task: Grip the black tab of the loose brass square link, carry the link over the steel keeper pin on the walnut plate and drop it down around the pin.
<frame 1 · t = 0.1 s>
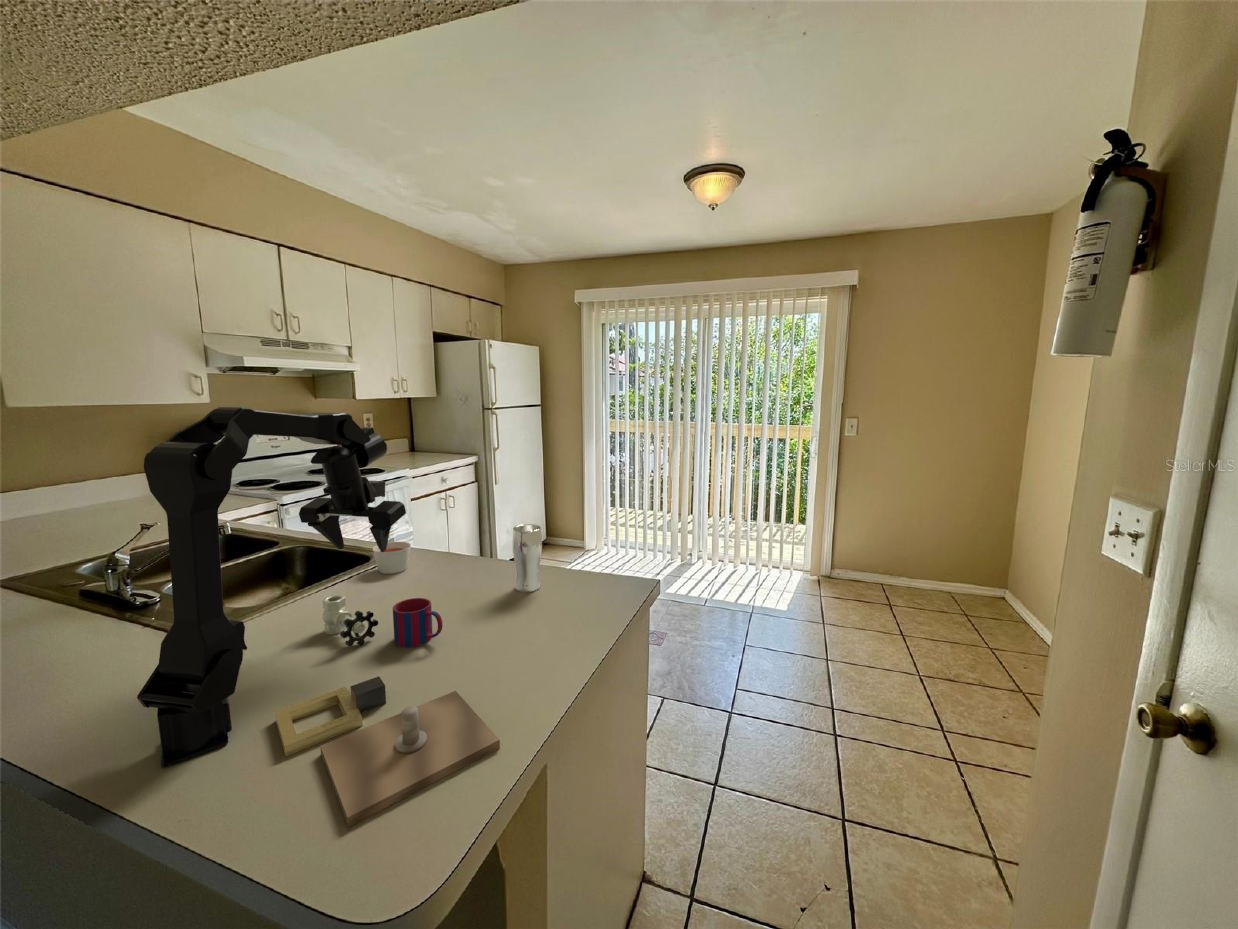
hand: (362, 549, 95), 15 cm above the counter, tool pointing down, fingers open, 9 cm apart
brass link: (318, 723, 68), on the counter
candle: (393, 570, 127), on the counter
valve: (346, 637, 92), on the counter
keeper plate: (411, 751, 63), on the counter
mug: (419, 642, 91), on the counter
beer glass: (527, 588, 116), on the counter
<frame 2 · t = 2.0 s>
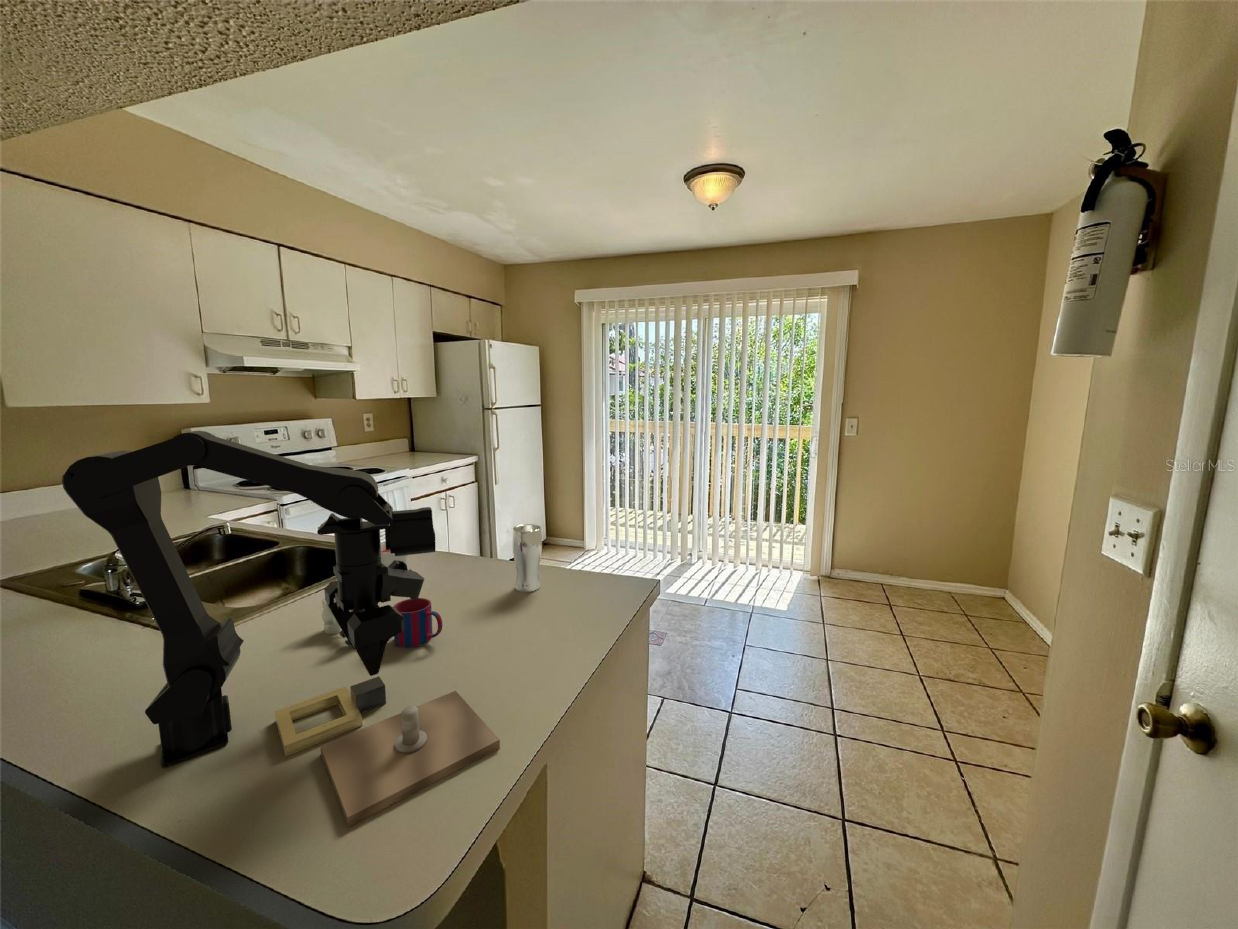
hand: (365, 660, 71), 7 cm above the counter, tool pointing down, fingers open, 9 cm apart
nothing on the counter moved.
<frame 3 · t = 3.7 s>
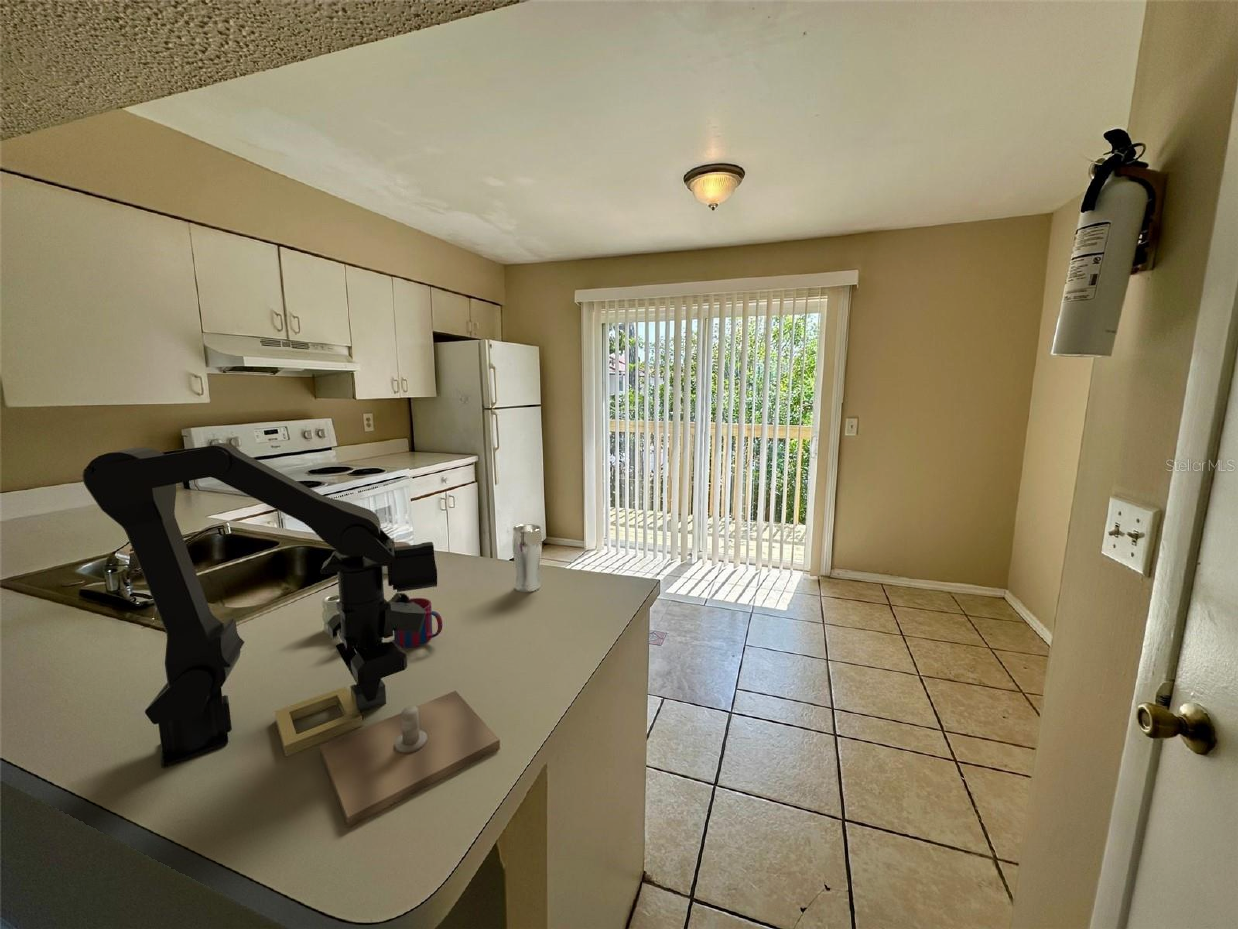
hand: (368, 694, 72), 2 cm above the counter, tool pointing down, fingers closed on brass link, 3 cm apart
brass link: (318, 723, 68), on the counter, touching gripper
everything else where it was.
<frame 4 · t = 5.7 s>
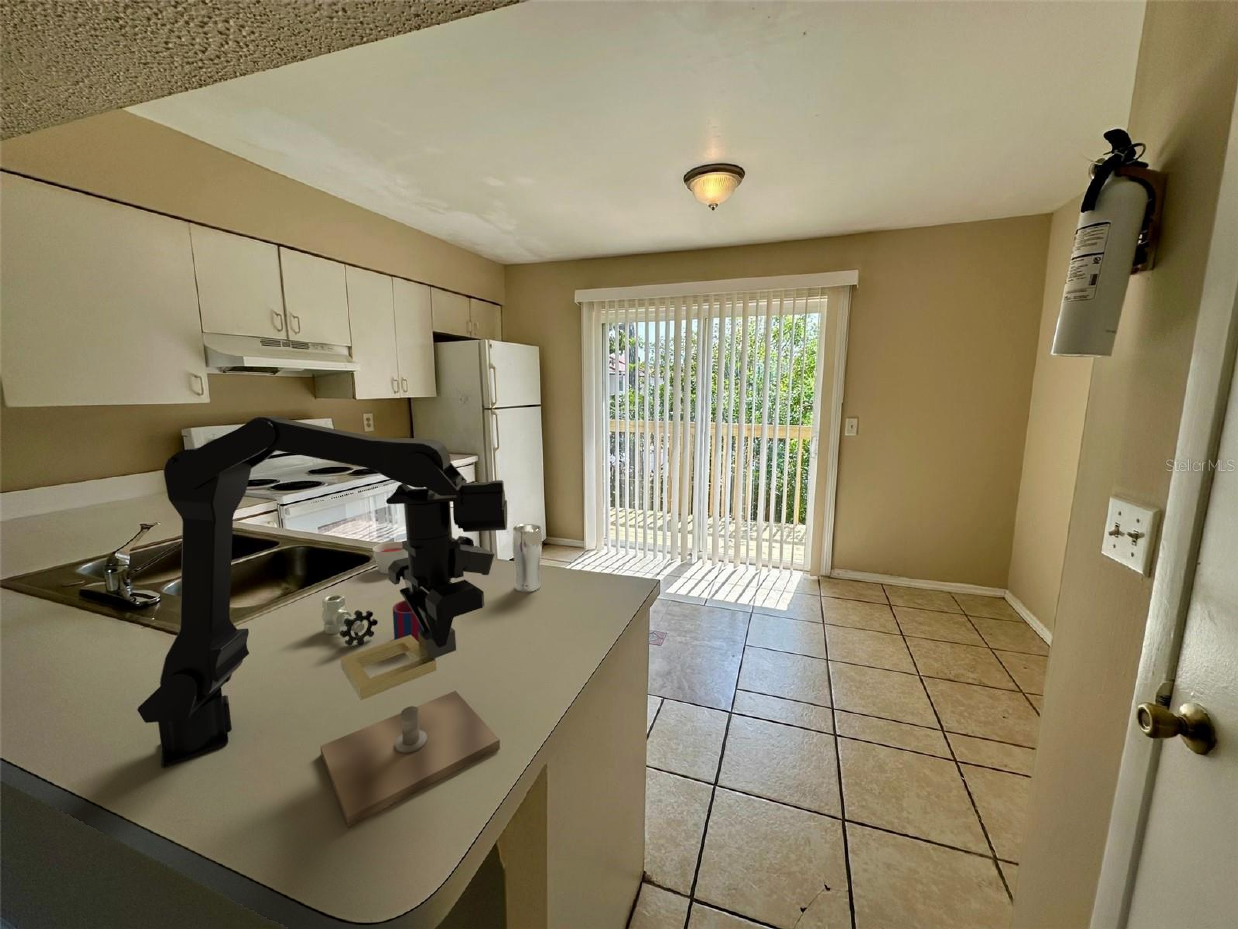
hand: (436, 641, 67), 12 cm above the counter, tool pointing down, fingers closed on brass link, 3 cm apart
brass link: (388, 669, 63), point 11 cm above the counter, touching gripper
everything else where it was.
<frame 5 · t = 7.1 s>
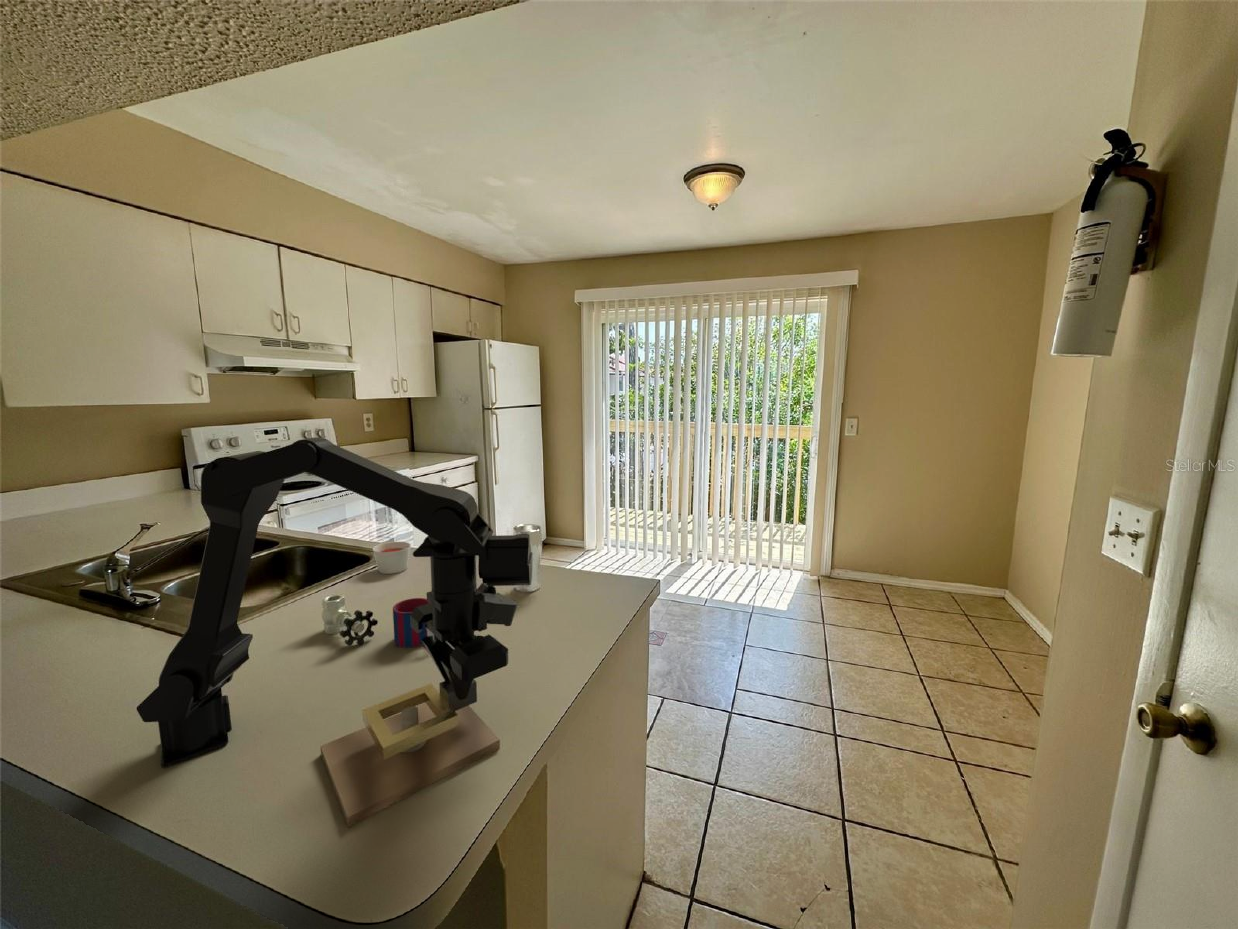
hand: (457, 692, 66), 5 cm above the counter, tool pointing down, fingers closed on brass link, 3 cm apart
brass link: (410, 723, 62), point 4 cm above the counter, touching gripper
everything else where it was.
when the fingers open (4 cm above the counter, at t = 7.9 s): brass link drops 2 cm, resting on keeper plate.
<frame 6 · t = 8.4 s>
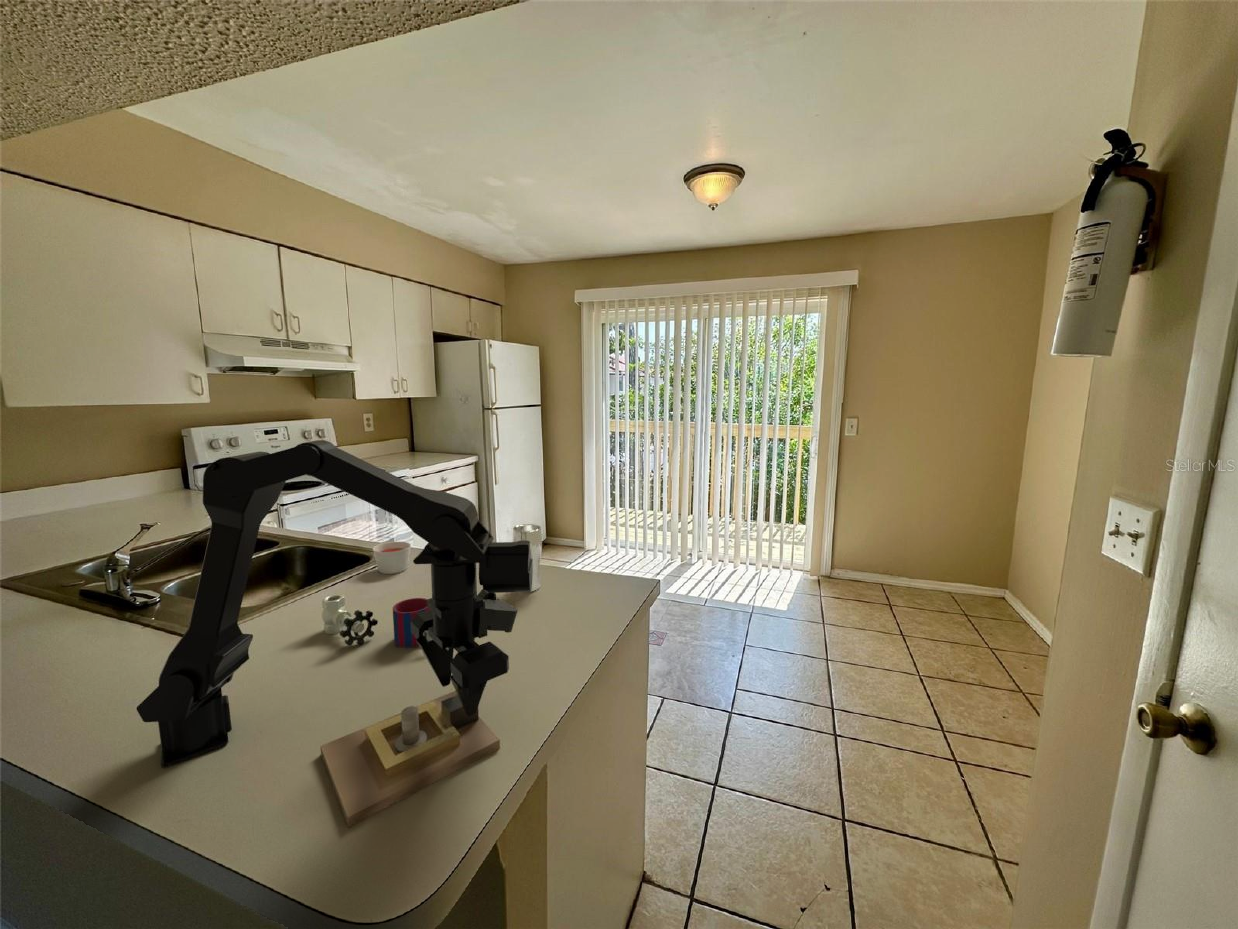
hand: (458, 699, 66), 4 cm above the counter, tool pointing down, fingers open, 8 cm apart
brass link: (412, 742, 63), point 1 cm above the counter, touching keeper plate
everything else where it was.
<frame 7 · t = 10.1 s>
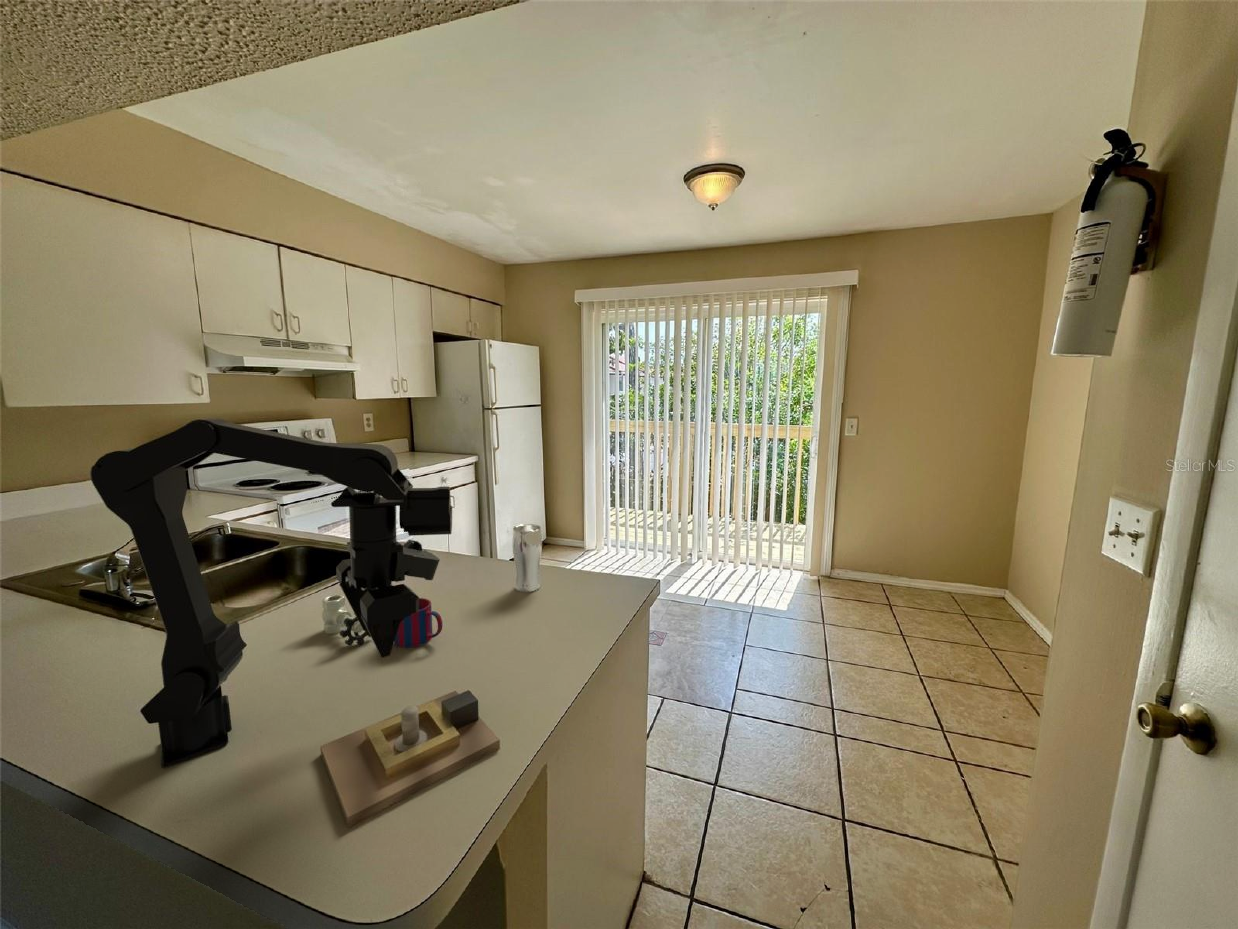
hand: (376, 642, 68), 11 cm above the counter, tool pointing down, fingers open, 9 cm apart
nothing on the counter moved.
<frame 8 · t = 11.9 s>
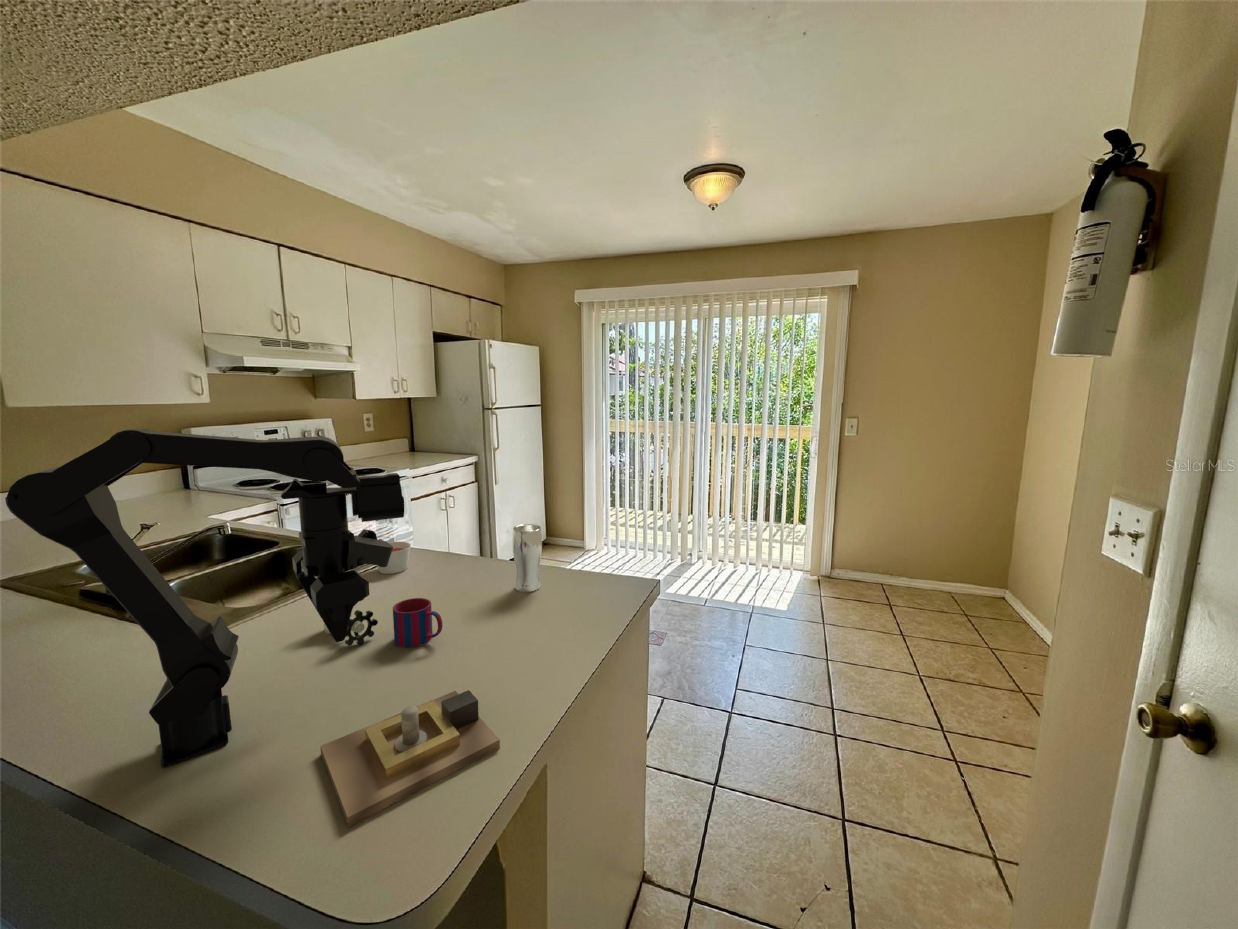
hand: (332, 629, 70), 12 cm above the counter, tool pointing down, fingers open, 9 cm apart
nothing on the counter moved.
at the end: brass link 0.2 cm off-centre on the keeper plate, point 1.2 cm above the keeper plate's base; the gripper is holding nothing; brass link tilted 0° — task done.
